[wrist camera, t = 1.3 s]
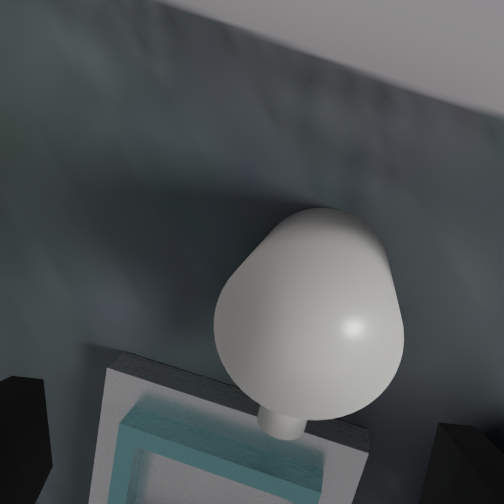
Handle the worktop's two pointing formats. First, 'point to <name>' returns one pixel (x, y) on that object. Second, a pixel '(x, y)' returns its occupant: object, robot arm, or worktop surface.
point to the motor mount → (211, 445)
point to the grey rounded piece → (311, 321)
